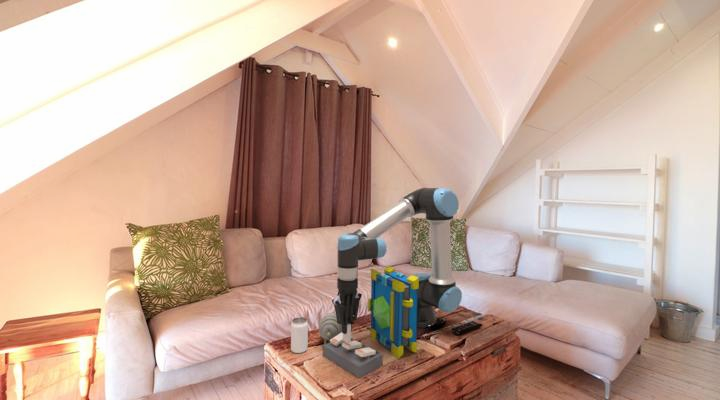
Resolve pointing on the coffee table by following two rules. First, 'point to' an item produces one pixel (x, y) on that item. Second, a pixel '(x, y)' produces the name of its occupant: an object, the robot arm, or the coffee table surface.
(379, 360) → the rocker switch panel
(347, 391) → the coffee table surface
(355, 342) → the rocker
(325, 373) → the coffee table surface
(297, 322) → the can
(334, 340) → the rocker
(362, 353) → the small box
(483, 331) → the coffee table surface
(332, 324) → the grey ribbed rounded piece
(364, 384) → the coffee table surface
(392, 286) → the decorative book
